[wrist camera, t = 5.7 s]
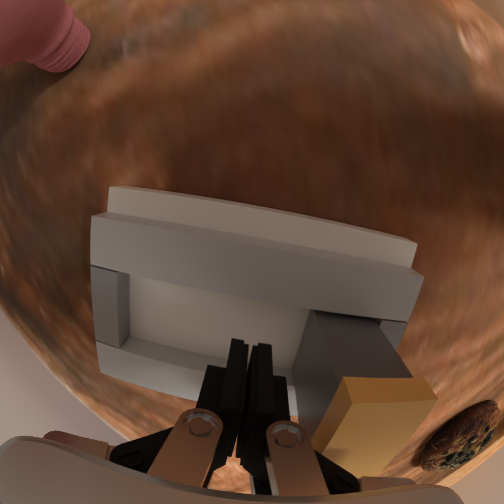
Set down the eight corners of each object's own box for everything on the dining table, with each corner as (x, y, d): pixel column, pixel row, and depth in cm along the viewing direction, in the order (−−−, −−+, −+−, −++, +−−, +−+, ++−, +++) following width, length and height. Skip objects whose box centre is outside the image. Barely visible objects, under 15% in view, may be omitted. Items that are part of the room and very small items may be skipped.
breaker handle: (371, 305, 13) (438, 399, 6) (342, 378, 14) (374, 478, 8) (313, 297, 13) (352, 403, 6) (290, 373, 14) (301, 482, 8)
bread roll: (467, 395, 17) (492, 429, 13) (501, 392, 19) (521, 416, 15) (397, 463, 21) (412, 495, 16) (446, 450, 23) (460, 475, 18)
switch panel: (405, 237, 14) (432, 251, 11) (343, 400, 17) (351, 430, 14) (122, 185, 14) (93, 188, 11) (121, 361, 17) (102, 386, 14)
